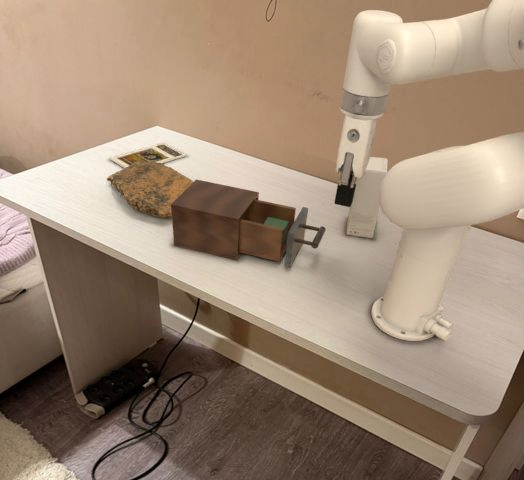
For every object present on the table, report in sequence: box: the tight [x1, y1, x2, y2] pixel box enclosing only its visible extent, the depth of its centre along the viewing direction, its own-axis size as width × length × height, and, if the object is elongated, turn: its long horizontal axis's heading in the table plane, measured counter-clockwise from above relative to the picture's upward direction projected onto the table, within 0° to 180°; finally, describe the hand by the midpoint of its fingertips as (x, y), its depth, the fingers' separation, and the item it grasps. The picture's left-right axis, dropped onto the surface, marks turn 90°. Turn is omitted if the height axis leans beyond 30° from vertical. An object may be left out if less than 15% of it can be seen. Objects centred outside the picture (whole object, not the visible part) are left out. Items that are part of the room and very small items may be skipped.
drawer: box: [239, 199, 327, 268], centre depth 102 cm, size 18×11×8 cm, turn 72°
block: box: [264, 217, 289, 250], centre depth 102 cm, size 5×5×5 cm
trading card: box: [109, 142, 187, 169], centre depth 136 cm, size 11×1×18 cm
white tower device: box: [345, 156, 389, 239], centre depth 109 cm, size 8×7×16 cm
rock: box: [106, 161, 194, 219], centre depth 118 cm, size 25×6×20 cm
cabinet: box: [171, 179, 260, 261], centre depth 104 cm, size 15×13×10 cm
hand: (343, 203), depth 93 cm, fingers closed
